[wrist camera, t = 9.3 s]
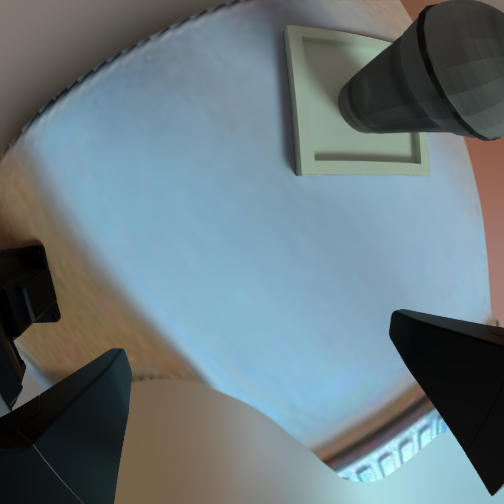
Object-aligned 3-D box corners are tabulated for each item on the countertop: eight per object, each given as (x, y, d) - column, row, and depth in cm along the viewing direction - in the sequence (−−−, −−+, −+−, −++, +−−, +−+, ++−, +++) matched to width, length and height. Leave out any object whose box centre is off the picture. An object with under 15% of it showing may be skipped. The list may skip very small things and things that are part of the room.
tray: (296, 175, 21) (301, 175, 20) (282, 32, 18) (287, 24, 17) (420, 175, 22) (430, 176, 21) (405, 53, 19) (413, 49, 18)
